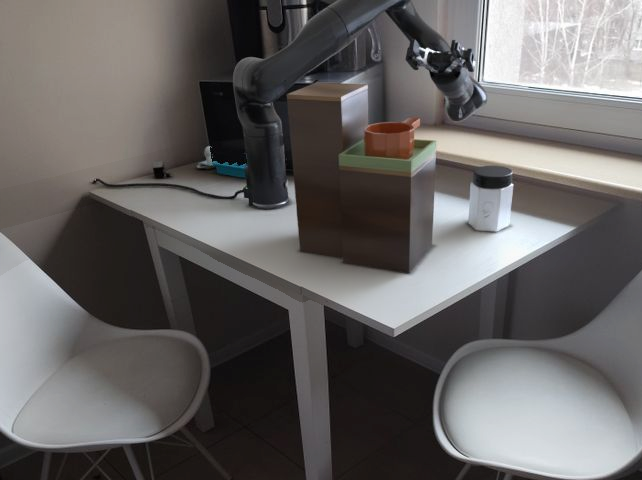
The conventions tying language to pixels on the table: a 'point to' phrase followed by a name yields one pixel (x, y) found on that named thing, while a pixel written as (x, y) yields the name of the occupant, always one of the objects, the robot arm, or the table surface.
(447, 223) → the table surface
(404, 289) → the table surface
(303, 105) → the stand
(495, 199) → the jar
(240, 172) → the ice cube tray
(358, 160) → the tray
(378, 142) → the saucepan
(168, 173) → the wireless earbuds
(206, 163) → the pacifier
